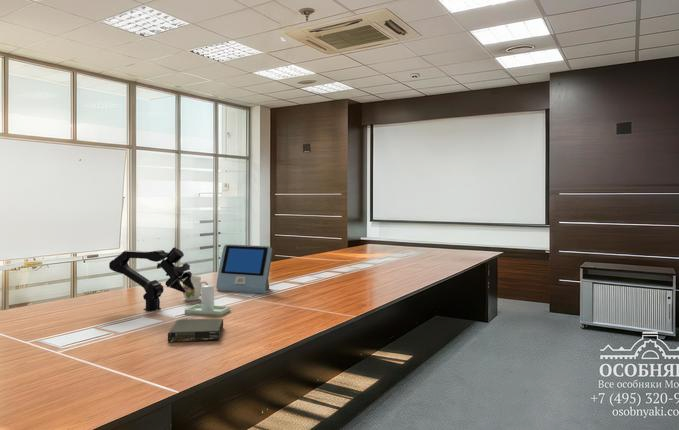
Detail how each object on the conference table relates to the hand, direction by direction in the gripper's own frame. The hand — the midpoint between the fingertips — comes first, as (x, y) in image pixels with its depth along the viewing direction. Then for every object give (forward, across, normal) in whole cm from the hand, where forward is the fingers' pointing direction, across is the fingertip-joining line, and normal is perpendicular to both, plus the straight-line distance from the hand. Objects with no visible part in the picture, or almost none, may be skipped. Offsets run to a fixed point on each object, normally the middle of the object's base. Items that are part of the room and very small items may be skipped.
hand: (189, 290), depth 245 cm
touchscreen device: (+14, +60, +2) cm, 62 cm away
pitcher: (0, +27, +16) cm, 32 cm away
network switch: (+25, -38, -8) cm, 46 cm away
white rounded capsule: (+15, 0, 0) cm, 15 cm away
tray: (+16, 0, 0) cm, 16 cm away
